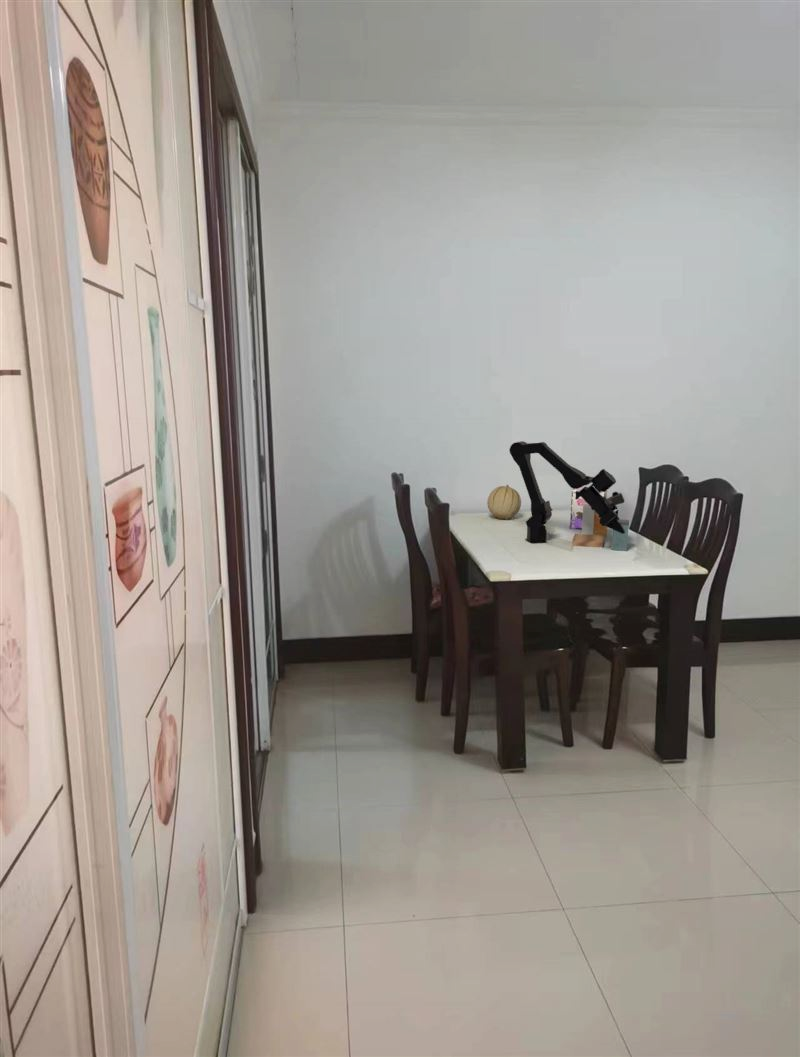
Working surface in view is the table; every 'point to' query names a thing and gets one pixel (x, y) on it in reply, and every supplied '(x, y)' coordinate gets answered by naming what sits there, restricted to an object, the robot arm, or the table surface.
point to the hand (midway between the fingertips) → (624, 531)
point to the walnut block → (588, 540)
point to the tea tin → (620, 537)
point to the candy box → (578, 509)
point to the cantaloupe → (504, 502)
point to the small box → (592, 522)
